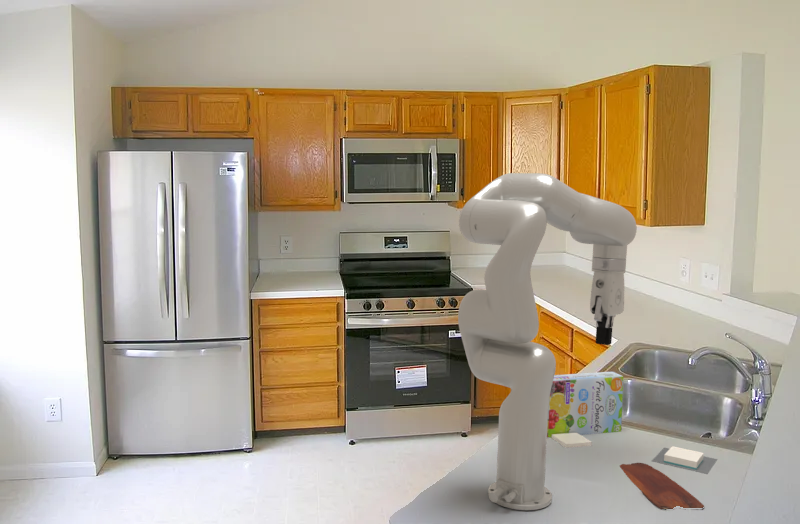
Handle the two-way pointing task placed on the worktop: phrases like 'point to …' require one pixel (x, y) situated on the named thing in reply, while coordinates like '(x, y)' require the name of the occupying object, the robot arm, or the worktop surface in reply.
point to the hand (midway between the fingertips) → (603, 343)
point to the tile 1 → (571, 440)
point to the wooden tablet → (659, 487)
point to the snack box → (585, 403)
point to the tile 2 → (683, 457)
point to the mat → (703, 467)
